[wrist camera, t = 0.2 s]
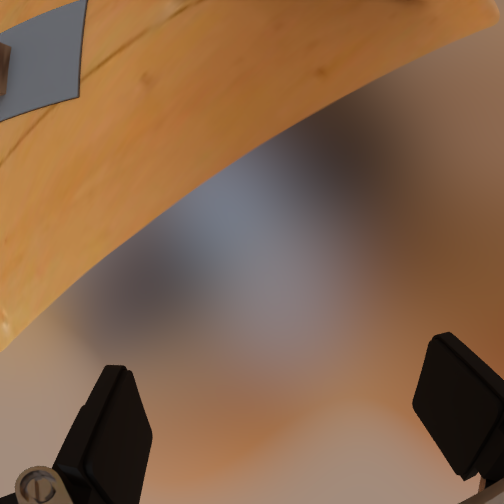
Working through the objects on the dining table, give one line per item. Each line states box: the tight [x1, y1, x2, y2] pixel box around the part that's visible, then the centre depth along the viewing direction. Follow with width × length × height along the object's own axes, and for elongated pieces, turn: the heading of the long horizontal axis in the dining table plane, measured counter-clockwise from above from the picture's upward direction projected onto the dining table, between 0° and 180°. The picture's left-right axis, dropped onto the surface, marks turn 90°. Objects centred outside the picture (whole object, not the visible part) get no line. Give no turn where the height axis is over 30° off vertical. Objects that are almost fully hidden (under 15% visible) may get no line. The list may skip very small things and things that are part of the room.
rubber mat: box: [0, 0, 88, 122], centre depth 30 cm, size 16×20×1 cm
